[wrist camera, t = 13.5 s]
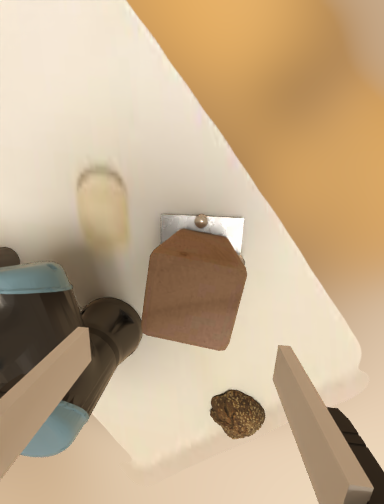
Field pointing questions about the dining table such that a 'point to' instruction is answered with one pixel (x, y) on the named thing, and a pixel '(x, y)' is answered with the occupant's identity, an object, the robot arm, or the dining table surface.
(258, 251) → the dining table surface
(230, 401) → the brown rounded lump
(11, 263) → the bottle
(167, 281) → the wooden block
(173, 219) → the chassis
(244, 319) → the dining table surface
